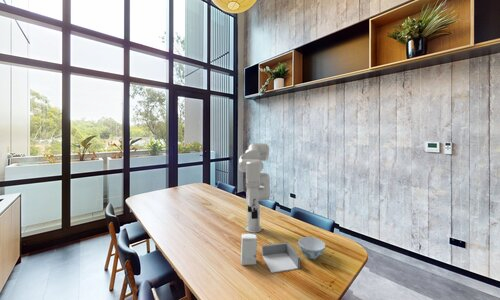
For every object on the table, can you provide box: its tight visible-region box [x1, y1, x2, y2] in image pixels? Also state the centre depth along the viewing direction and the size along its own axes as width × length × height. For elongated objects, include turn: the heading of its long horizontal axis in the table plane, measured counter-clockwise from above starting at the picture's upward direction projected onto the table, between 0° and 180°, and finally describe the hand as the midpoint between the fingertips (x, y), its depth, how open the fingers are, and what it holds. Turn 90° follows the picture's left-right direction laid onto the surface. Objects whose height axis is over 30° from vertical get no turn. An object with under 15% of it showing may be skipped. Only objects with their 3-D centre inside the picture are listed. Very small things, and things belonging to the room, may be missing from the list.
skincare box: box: [240, 233, 258, 266], centre depth 112 cm, size 8×6×15 cm
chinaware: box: [298, 236, 326, 260], centre depth 118 cm, size 15×15×8 cm
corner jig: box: [261, 241, 301, 274], centre depth 112 cm, size 16×16×6 cm
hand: (252, 215), depth 110 cm, fingers open, 9 cm apart
